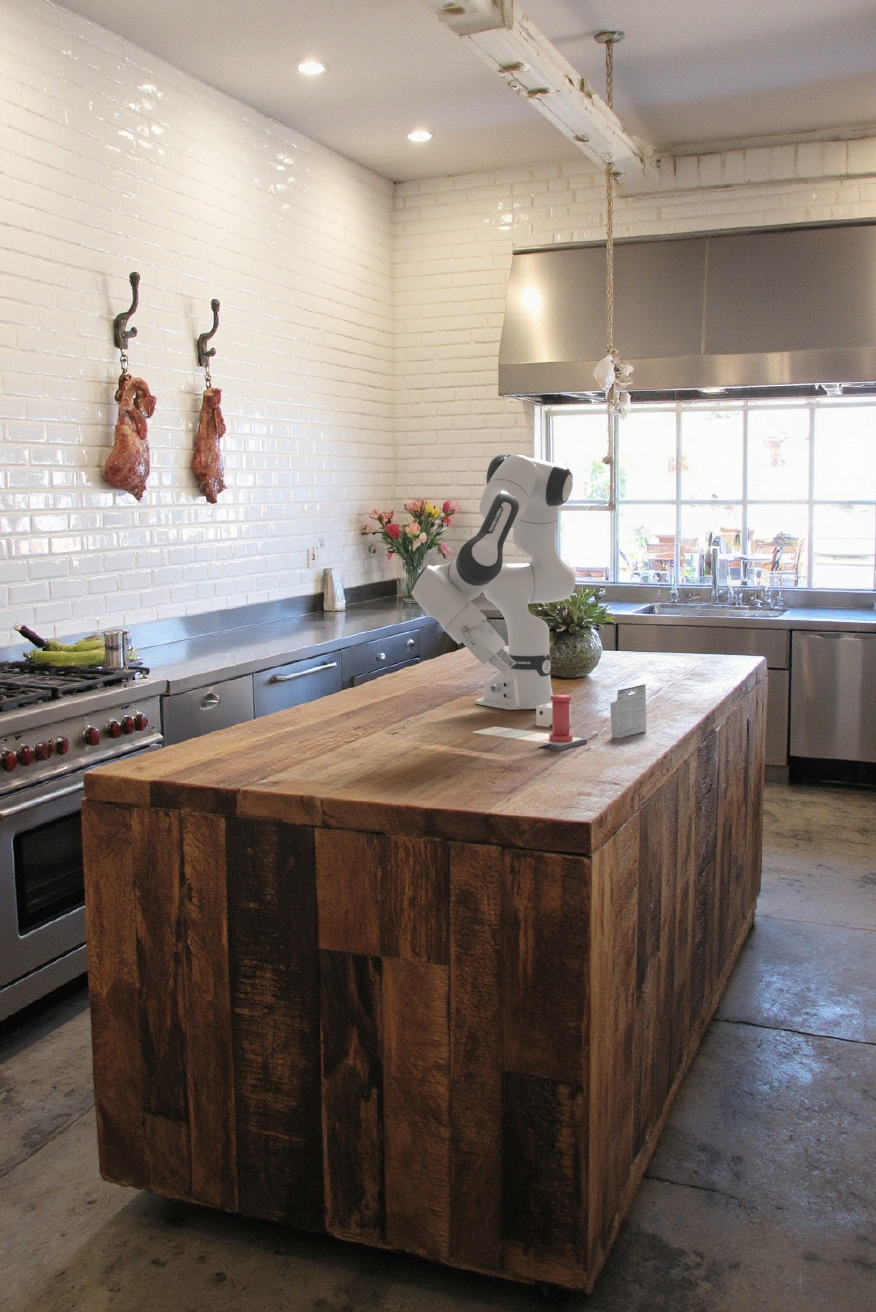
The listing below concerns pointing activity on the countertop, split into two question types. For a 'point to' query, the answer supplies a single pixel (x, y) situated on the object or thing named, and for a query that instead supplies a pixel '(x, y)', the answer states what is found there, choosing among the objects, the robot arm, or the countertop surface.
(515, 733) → the game board
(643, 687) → the ink box
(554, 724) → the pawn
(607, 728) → the countertop surface
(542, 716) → the die
